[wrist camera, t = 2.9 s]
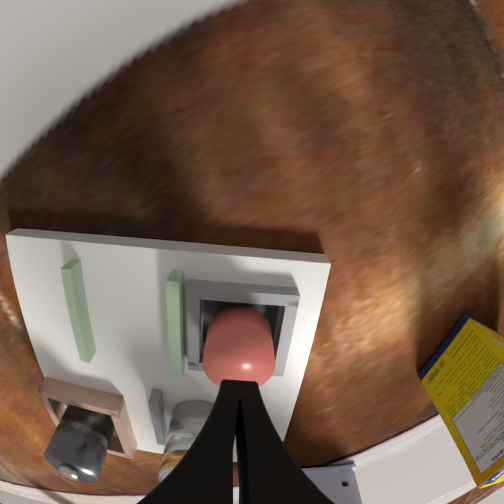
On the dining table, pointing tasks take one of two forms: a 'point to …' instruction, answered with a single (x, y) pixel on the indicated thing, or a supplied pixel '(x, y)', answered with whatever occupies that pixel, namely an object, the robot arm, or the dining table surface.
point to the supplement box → (471, 395)
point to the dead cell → (80, 443)
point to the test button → (239, 346)
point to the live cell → (183, 432)
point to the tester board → (155, 323)
